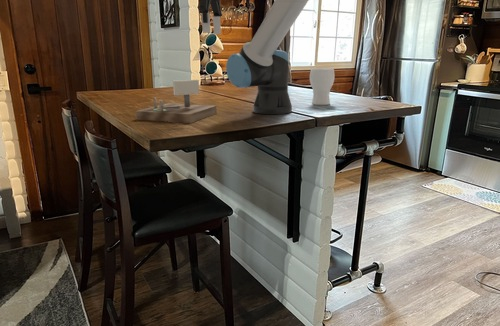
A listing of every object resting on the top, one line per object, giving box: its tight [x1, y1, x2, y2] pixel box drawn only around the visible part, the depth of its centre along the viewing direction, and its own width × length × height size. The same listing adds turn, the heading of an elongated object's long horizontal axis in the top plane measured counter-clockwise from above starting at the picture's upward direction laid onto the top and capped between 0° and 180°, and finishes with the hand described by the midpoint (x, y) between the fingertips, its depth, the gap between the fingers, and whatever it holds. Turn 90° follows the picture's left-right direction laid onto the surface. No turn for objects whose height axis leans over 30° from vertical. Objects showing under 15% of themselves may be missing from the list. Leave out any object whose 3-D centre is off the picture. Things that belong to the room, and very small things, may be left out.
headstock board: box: [135, 97, 218, 124], centre depth 141 cm, size 22×20×7 cm
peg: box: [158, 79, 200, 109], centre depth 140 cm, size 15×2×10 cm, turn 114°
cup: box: [309, 67, 336, 106], centre depth 167 cm, size 11×11×15 cm
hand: (212, 33), depth 145 cm, fingers open, 13 cm apart
